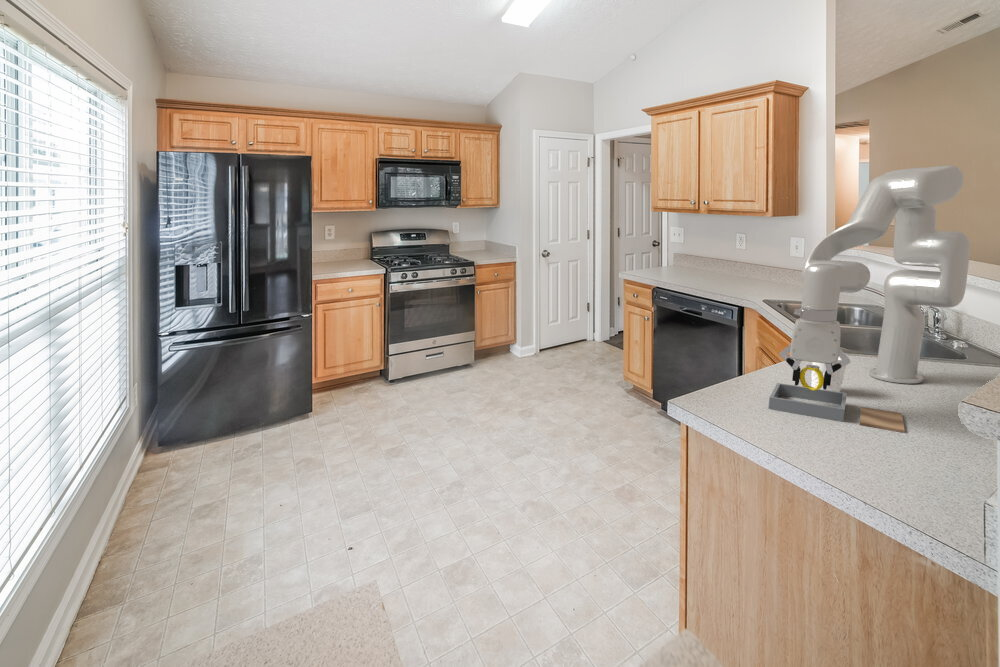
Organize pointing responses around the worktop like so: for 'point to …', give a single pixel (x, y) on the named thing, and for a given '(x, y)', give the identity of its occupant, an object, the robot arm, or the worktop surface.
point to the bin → (805, 407)
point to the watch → (819, 373)
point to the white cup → (835, 377)
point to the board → (881, 419)
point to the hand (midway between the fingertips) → (810, 385)
